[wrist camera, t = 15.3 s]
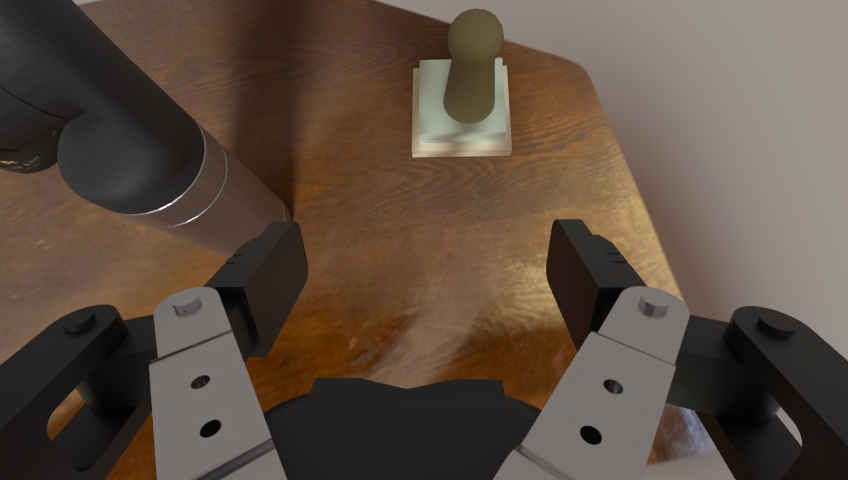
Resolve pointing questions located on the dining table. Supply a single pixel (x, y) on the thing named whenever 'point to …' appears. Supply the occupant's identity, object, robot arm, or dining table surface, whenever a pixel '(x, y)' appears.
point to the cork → (472, 65)
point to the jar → (35, 155)
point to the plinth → (458, 147)
